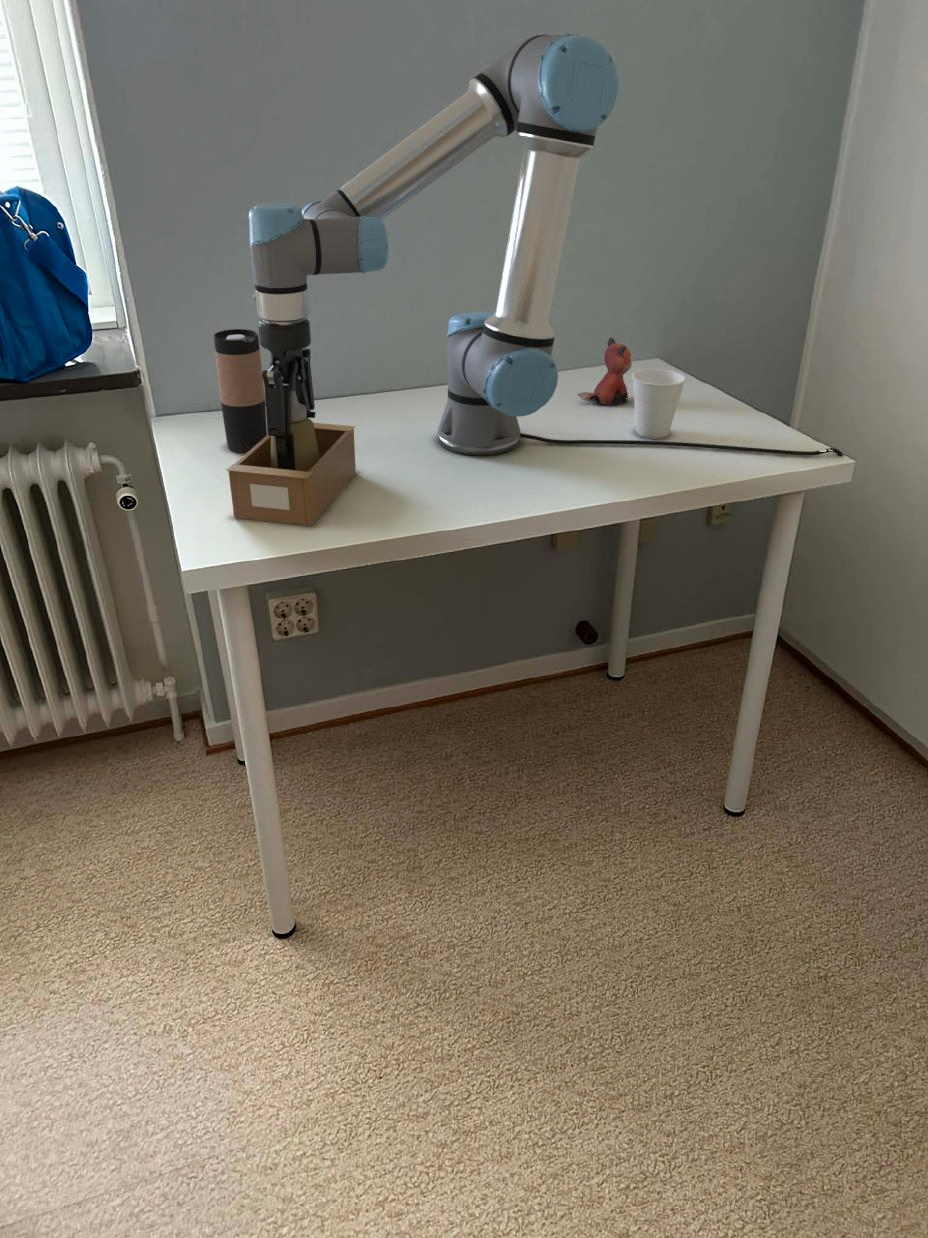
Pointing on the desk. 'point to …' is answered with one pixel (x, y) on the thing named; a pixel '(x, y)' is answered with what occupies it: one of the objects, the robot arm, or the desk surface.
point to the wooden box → (293, 480)
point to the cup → (656, 400)
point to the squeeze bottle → (300, 438)
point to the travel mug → (241, 388)
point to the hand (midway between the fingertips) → (295, 465)
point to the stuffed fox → (612, 376)
